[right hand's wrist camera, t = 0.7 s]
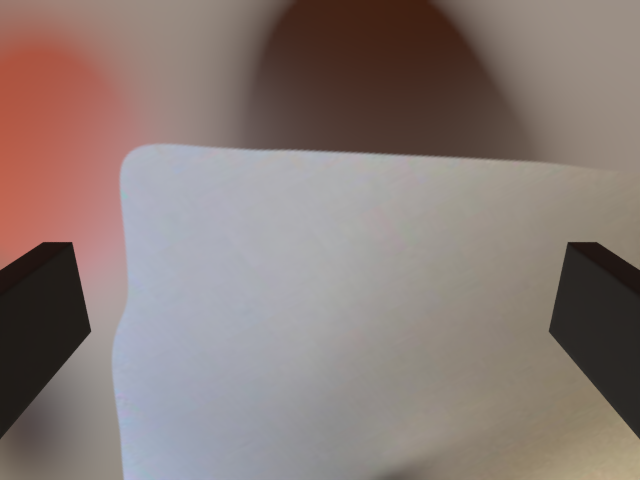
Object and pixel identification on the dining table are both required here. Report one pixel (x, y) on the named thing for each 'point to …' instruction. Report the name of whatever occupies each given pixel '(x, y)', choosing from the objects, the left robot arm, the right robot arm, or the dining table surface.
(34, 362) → the right robot arm
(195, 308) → the dining table surface
